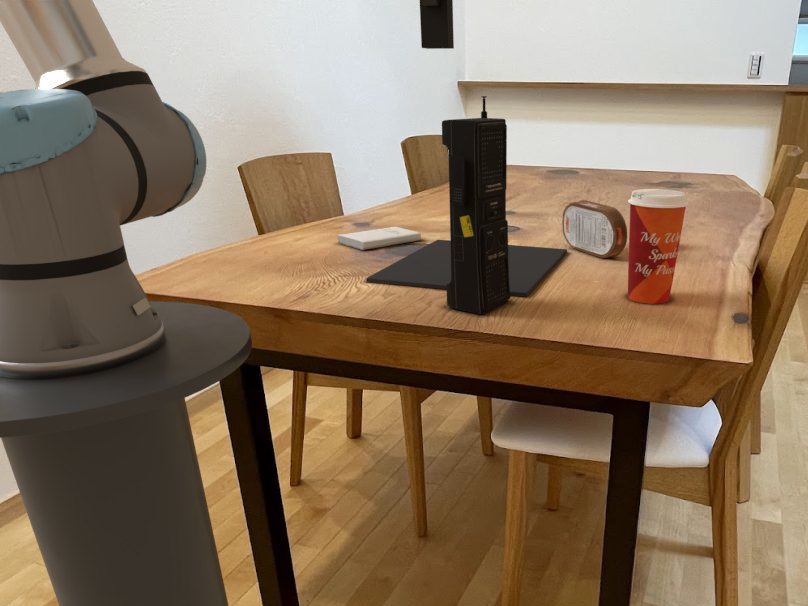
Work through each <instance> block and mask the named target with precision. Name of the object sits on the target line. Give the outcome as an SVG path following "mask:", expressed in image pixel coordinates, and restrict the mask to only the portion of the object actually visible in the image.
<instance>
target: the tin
mask: <svg viewBox="0 0 808 606" xmlns="http://www.w3.org/2000/svg"><path fill="white" fill-rule="evenodd" d="M561 222H562V234H563V237H564V238H565V241H566V242H567V244H568V245H569V247H571V248H572V249H574V250H577V251H579V252H582V253H586V254H588V255H591V256H594V257H597V258H601V259H607V258H611V257H613V258H614V257H618V256H620V255H621V254H622V253H623V251H624V250H625V248H626V246H627V242H628V227H627V224H626V220H625V218H624V216H623V215H622V213H621V212H620V211H619V210H618V209H617V208H615V207H614V206H611V205H607V204H603V203H599V202H594V201H591V200H588V199H581V200H578V201H574V202H570V203H568V204H567V205H566V206H565V208H564V209H563V212H562V221H561Z"/></svg>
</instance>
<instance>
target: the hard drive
mask: <svg viewBox="0 0 808 606" xmlns="http://www.w3.org/2000/svg"><path fill="white" fill-rule="evenodd" d="M421 240H422V233H420V232H419V231H416V230H411V229H407V228H404V227H399V226H391V227H384V228H376V229H369V230H363V231H355V232H349V233H343V234H342V233H341V234H338V235H337V242H338V244H340V245H344V246H347V247H350V248H354V249H357V250H360V251H365V250H373V249H377V248H383V247H389V246H390V247H391V246H396V245H401V244H406V243H407V244H408V243H413V242H418V241H421Z"/></svg>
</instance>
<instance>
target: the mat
mask: <svg viewBox="0 0 808 606" xmlns="http://www.w3.org/2000/svg"><path fill="white" fill-rule="evenodd" d="M567 253H568V249H567V248H555V247H541V246H529V245H515V244H508V263H509V286H510V297H511V296H512V297H522V298H527V297H528V296H529V295H530V294H531V293H532V292H533V291H534V290H535V289H536V287H537V286H538V285H539V284H540V283H542V281H543V280H544V278H545V277H546V276H547V275H548V274H549V273H550V272H551V271H552V270H553V269H554V268H555V266H556V265H557V264H558V263H560V261H561V260H562V259H563V258H564V257H565V256H566V255H567ZM365 280H366V283H372V284H373V283H374V284H385V285H395V286H403V287H404V286H405V287H415V288H416V287H417V288H427V289H438V290H446V291H447V285H446V284H448V283H450V281H451V239H450V240H449V239H436V240H434V241H432V242H430V243H429V244H426V245H425V246H423V247H421V248H419V249H417V250H416V251H414V252H412V253H410V254H408V255H407V256H405V257H403V258H401V259H399V260H397V261H395V262H394V263H392V264H389V265H388V266H386V267H384V268H382V269H381V270H379V271H377V272H375V273H373V274H371V275H369V276H368V277H366V278H365Z"/></svg>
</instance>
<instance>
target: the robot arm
mask: <svg viewBox="0 0 808 606" xmlns="http://www.w3.org/2000/svg"><path fill="white" fill-rule="evenodd" d="M453 2H454V1H453V0H419V16H420V17H419V19H420V43H421V44H420V45H421V49H426V50H430V49H431V50H432V49H434V50H437V49H439V50H442V49H443V50H444V49H445V50H446V49H447V50H448V49H451V50H453V49H455V46H454V45H455V43H454V42H455V41H454V38H455V37H454V4H453ZM0 24H1V25H2V27H3V28H4V31H5V32H6V34H7V36H8V38H9V39H10V42H11V43H12V45H13V46H14V48H15V50H16V51H17V53H18V55H19V56H20V58H21V60H22V62H23V64H24V65H25V67H26V69H27V70H28V72H29V73H30V76H31V77H32V79H33V81H34V83H35V88H34V89H16V90H9V91H5V92H4V91H0V376H1V377H5V378H12V379H27V380H37V379H55V378H64V377H72V376H79V375H85V374H90V373H95V372H99V371H104V370H108V369H111V368H115V367H118V366H122V365H125V364H128V363H131V362H133V361H136V360H138V359H141V358H143V357H145V356H147V355H149V354H151V353H152V352H154V351H155V350H157V349H158V348H159V347H160V346H161V345H162V344H163V343H164V341H165V339H166V336H165V331H164V327H163V322H162V320H161V318H160V316H159V314H158V312H157V311H156V310H155V309H153V308H152V306H151V304H150V301H151V300H150V298H148V295H147V293H146V292H145V290H144V288H143V287H142V285H141V283H140V282H139V280H138V278H137V277H136V275H135V273H134V272H133V270H132V268H131V266H130V262H129V259H128V255H127V251H126V247H125V241H124V237H123V233H122V229H121V226H123V225H127V224H130V223H134V222H138V221H142V220H145V219H147V218H152V217H153V218H155V217H161V216H163V215H166V214H168V213H171V212H173V211H175V210H176V209H178V208H180V207H183V206H184V205H186V204H187V203H189V202H190V201H191V200H192V199H193V198H194V197H195V196H196V195H197V194H198V192H199V191H200V189H201V188H202V185H203V182H204V178H205V175H206V171H207V153H206V148H205V144H204V141H203V138H202V135H201V134H200V132H199V130H198V129H197V127H196V126H195V124H194V123H193V122H192V120H191V119H190V118H189V117H188V116H187V115H186V114H185V113H184V112H182V111H180V110H178V109H177V108H175V107H174V106H172V105H171V104H169V103H167V102H164V101H163V100H162V99H161V96H160V95H159V93H158V91H157V89H156V87H155V85H154V83H153V81H152V79H151V77H150V75H149V73H148V72H147V71H146V69H144V68H142V67H140V66H138V65H136V64H134V63H132V62H130V61H127V60H126V59H125V58H124V57H123V55H122V54H121V52H120V50H119V48H118V47H117V44H116V43H115V41H114V39H113V37H112V35H111V32H110V31H109V30H108V27H107V25H106V23H105V22H104V20H103V18H102V16H101V14H100V12H99V10H98V8H97V6H96V4H95V3H94V1H93V0H0Z"/></svg>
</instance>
